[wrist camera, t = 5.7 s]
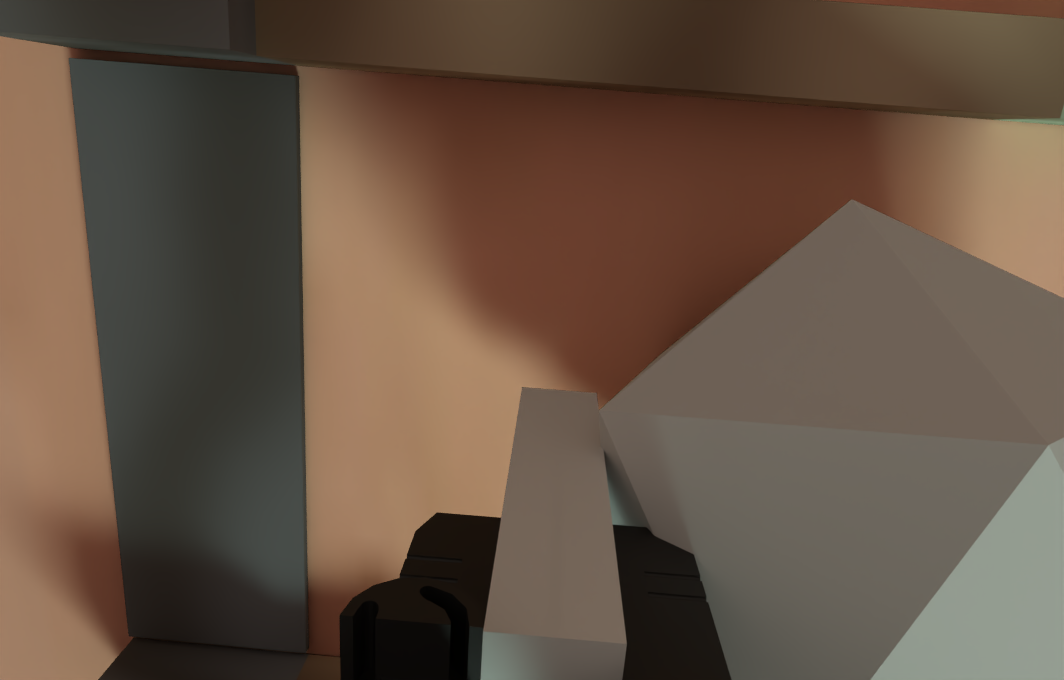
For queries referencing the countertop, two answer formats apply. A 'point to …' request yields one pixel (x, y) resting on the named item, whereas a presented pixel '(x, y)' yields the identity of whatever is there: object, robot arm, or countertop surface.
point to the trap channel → (276, 237)
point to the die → (862, 462)
